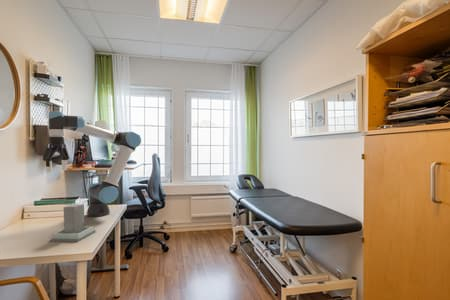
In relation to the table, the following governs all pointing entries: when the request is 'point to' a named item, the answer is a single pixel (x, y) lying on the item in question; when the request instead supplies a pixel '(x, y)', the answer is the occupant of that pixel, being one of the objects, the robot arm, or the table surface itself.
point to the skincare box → (74, 219)
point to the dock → (71, 235)
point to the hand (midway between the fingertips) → (57, 171)
